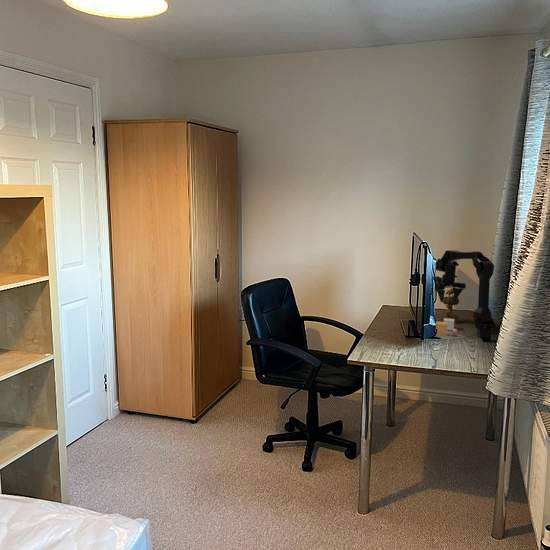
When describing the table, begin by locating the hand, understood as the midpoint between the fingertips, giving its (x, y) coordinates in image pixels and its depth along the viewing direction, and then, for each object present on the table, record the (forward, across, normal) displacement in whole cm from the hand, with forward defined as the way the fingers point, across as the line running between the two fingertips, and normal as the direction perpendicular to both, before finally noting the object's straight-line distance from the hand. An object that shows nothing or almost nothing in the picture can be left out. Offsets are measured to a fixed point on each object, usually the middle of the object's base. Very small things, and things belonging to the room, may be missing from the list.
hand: (448, 301), depth 307 cm
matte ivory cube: (+15, +4, +6) cm, 16 cm away
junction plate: (+15, +15, +17) cm, 27 cm away
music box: (+15, -12, -12) cm, 22 cm away
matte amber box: (+14, +17, +16) cm, 27 cm away
